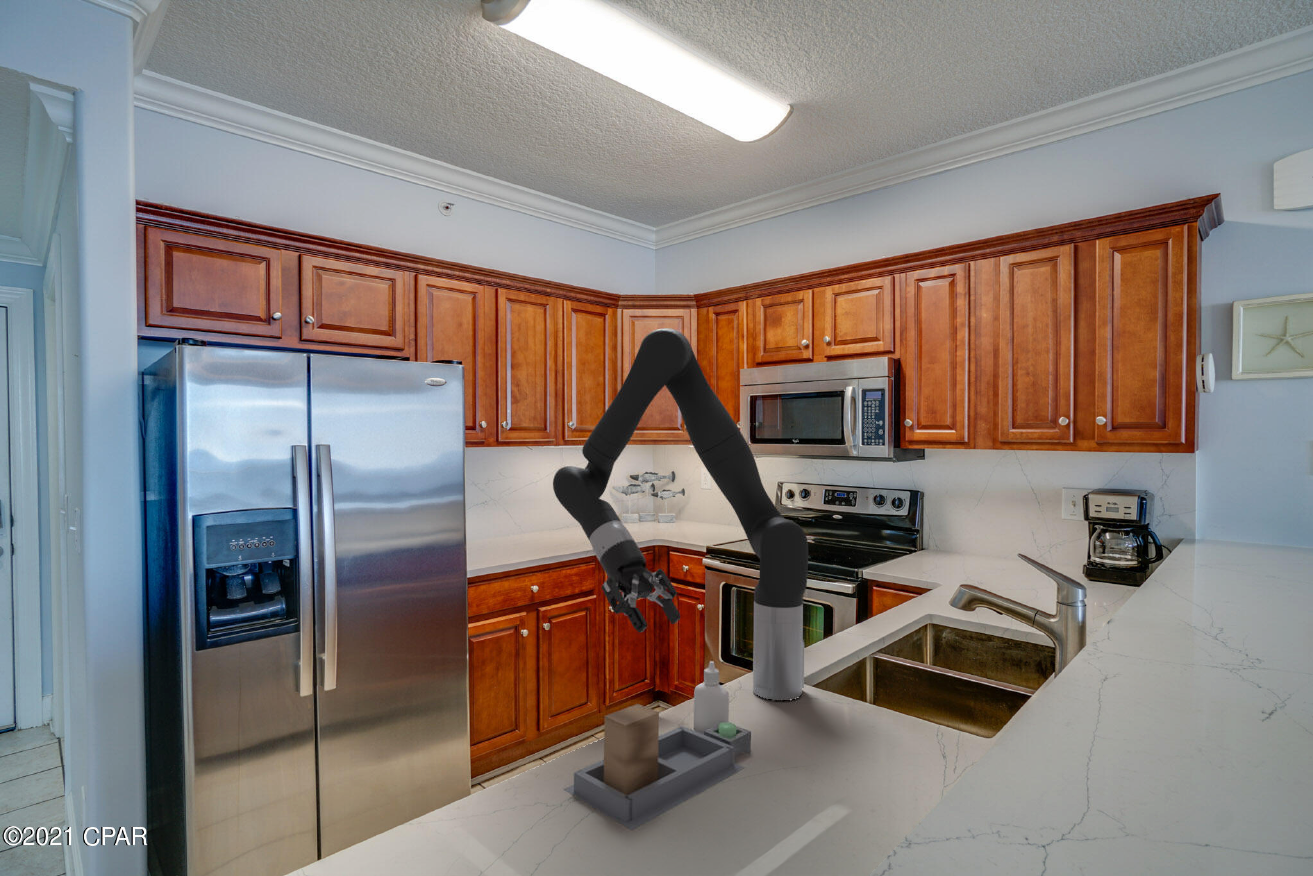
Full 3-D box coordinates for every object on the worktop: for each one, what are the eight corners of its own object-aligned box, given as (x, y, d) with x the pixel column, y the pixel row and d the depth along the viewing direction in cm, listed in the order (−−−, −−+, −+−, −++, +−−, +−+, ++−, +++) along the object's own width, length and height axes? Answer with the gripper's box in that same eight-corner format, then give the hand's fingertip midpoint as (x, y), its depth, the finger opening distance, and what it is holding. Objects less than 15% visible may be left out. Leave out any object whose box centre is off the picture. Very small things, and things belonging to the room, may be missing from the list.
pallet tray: (676, 748, 103) (677, 722, 103) (744, 778, 94) (745, 749, 94) (563, 800, 87) (563, 769, 87) (631, 842, 78) (632, 808, 78)
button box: (724, 747, 103) (724, 721, 103) (750, 758, 100) (750, 731, 100) (703, 757, 100) (704, 731, 100) (730, 769, 96) (730, 741, 96)
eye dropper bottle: (713, 727, 111) (714, 655, 111) (731, 741, 106) (732, 665, 106) (690, 732, 109) (691, 658, 109) (708, 746, 104) (709, 669, 104)
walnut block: (636, 777, 91) (637, 703, 91) (657, 788, 88) (658, 712, 88) (603, 793, 86) (604, 716, 86) (624, 805, 83) (625, 725, 84)
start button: (725, 739, 102) (726, 720, 102) (739, 744, 100) (739, 726, 100) (715, 744, 100) (715, 725, 100) (728, 750, 98) (729, 731, 98)
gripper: (597, 541, 117) (642, 620, 109) (654, 535, 127) (699, 606, 119) (577, 567, 121) (619, 645, 112) (634, 559, 131) (677, 630, 123)
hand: (660, 625), depth 116 cm, fingers open, 8 cm apart
